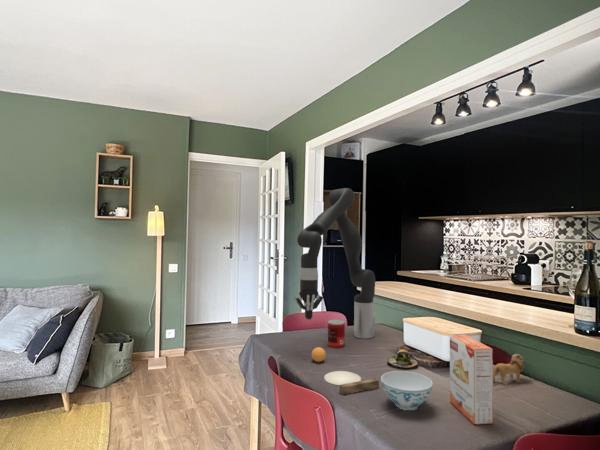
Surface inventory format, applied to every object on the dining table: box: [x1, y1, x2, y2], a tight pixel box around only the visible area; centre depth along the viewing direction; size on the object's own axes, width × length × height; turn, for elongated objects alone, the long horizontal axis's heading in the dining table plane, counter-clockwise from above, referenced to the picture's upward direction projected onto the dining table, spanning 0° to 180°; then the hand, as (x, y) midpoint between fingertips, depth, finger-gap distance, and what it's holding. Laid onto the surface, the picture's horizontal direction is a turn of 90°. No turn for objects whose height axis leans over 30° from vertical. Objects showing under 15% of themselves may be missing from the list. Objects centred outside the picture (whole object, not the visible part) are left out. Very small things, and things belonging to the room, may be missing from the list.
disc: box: [324, 370, 362, 386], centre depth 137 cm, size 13×13×1 cm
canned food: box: [327, 319, 346, 349], centre depth 176 cm, size 8×8×11 cm
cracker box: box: [449, 334, 494, 425], centre depth 111 cm, size 14×6×21 cm, turn 5°
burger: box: [386, 348, 419, 369], centre depth 151 cm, size 12×12×8 cm
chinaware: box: [380, 370, 433, 411], centre depth 116 cm, size 15×15×8 cm
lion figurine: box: [493, 353, 525, 386], centre depth 134 cm, size 15×5×9 cm, turn 116°
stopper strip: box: [338, 378, 380, 396], centre depth 127 cm, size 14×2×2 cm, turn 114°
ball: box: [311, 346, 326, 363], centre depth 154 cm, size 6×6×6 cm
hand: (308, 319), depth 163 cm, fingers closed
